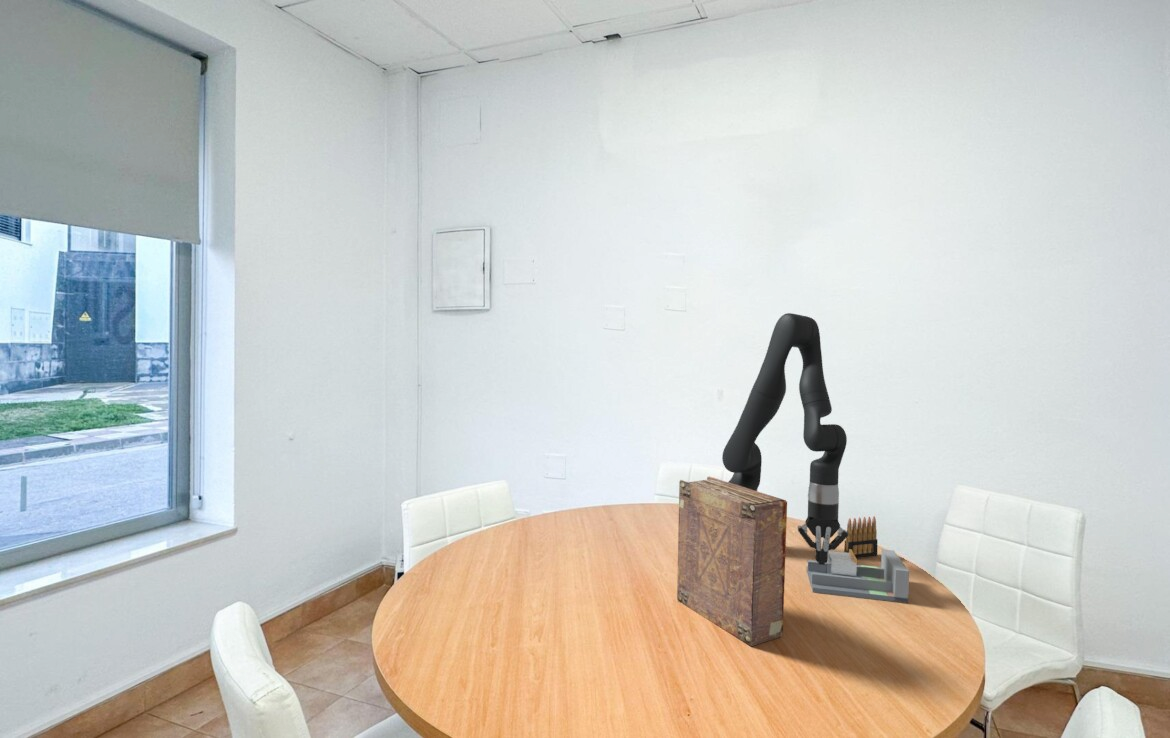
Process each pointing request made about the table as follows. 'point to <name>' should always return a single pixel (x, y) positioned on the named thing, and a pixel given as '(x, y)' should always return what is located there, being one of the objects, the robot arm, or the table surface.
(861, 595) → the base
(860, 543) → the ammunition clip
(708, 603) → the book
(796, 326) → the robot arm
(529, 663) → the table surface
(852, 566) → the plunger
